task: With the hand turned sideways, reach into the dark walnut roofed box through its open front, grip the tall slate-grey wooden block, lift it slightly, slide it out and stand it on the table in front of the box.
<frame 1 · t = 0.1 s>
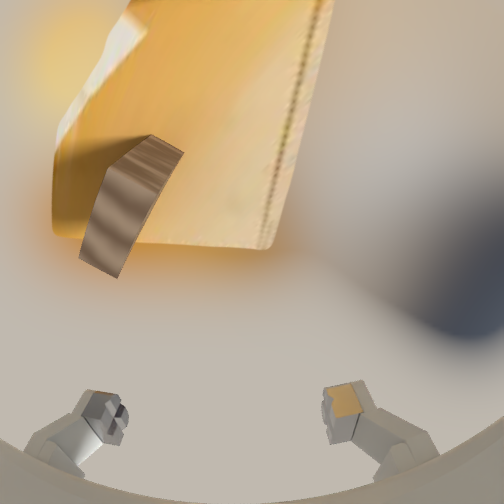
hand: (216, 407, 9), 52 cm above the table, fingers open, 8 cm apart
walnut box: (144, 175, 55), on the table
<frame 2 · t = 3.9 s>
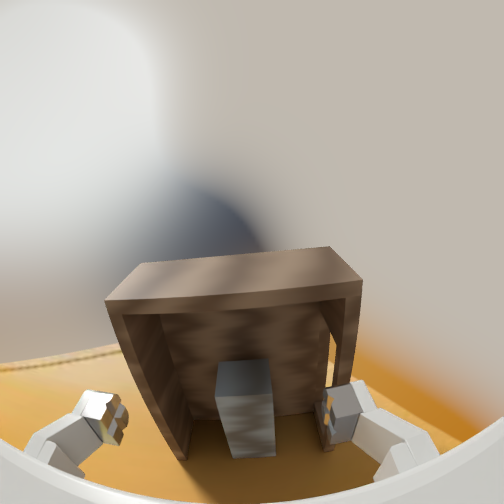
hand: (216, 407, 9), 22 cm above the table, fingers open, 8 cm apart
slate block: (253, 441, 27), on the table
walnut box: (253, 441, 27), on the table
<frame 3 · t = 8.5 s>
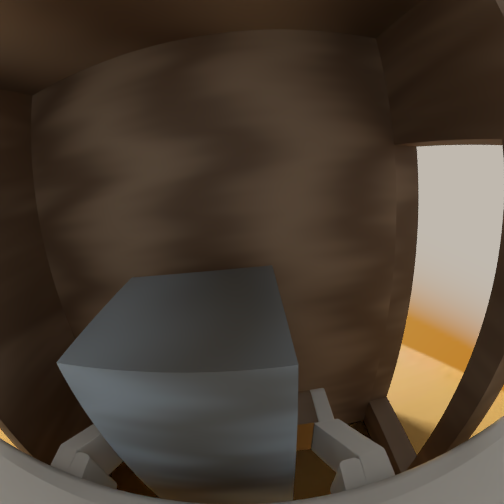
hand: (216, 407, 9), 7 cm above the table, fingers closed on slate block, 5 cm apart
slate block: (239, 490, 10), on the table, touching gripper
walnut box: (239, 490, 10), on the table
when the fingers open (8 cm above the table, at t = 14.9 s): slate block stays where it is, on the table.
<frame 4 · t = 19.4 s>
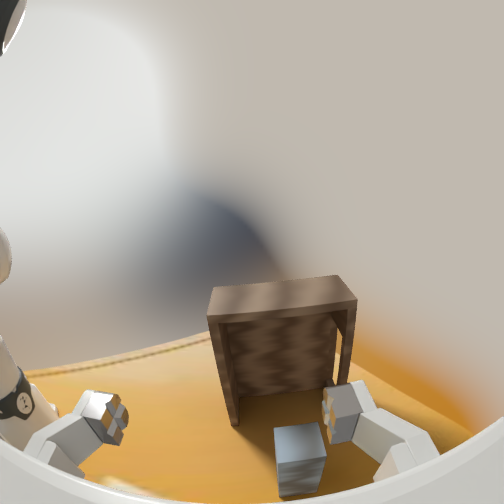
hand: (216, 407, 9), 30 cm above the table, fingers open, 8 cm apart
slate block: (296, 481, 26), on the table
walnut box: (285, 408, 41), on the table
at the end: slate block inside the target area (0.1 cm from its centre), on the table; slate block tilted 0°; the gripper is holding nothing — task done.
